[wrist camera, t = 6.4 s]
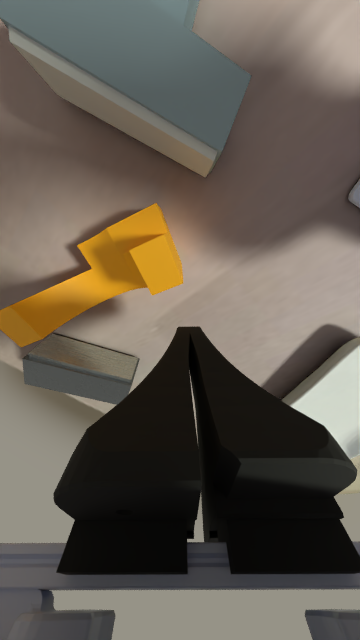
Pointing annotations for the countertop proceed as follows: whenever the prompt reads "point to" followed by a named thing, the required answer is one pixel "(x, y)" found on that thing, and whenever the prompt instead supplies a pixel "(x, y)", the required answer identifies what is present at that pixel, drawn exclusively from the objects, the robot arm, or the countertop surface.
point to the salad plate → (334, 397)
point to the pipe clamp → (101, 276)
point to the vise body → (80, 369)
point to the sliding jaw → (134, 70)
